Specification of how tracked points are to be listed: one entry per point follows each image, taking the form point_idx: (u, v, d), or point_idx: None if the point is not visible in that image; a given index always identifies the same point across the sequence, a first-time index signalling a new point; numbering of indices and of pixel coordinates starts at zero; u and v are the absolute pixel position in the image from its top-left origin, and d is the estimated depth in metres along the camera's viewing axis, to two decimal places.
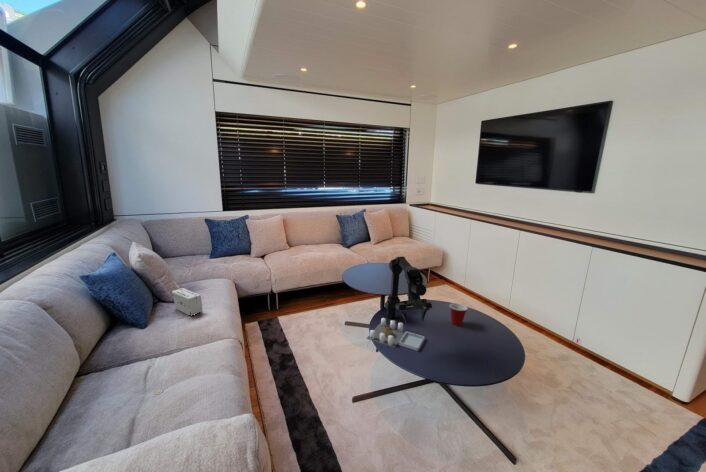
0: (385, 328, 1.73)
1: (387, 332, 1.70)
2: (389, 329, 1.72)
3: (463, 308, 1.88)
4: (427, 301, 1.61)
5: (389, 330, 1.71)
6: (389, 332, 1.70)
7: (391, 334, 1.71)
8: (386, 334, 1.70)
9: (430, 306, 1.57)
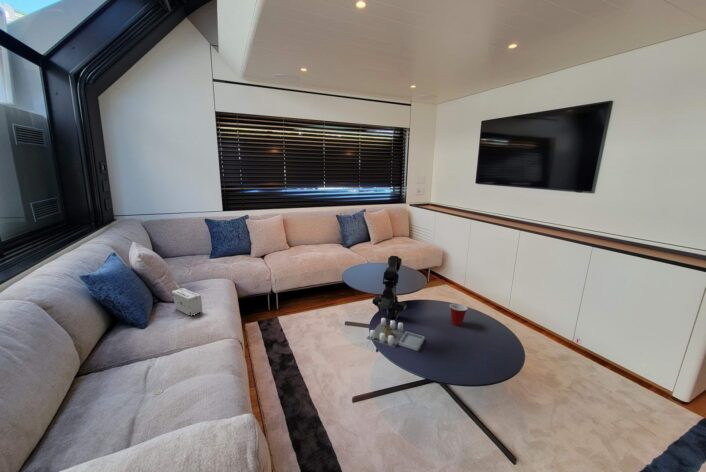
0: (385, 328, 1.73)
1: (387, 332, 1.70)
2: (389, 329, 1.72)
3: (463, 308, 1.88)
4: (404, 303, 1.65)
5: (389, 330, 1.71)
6: (389, 332, 1.70)
7: (391, 334, 1.71)
8: (386, 334, 1.70)
9: (401, 309, 1.62)
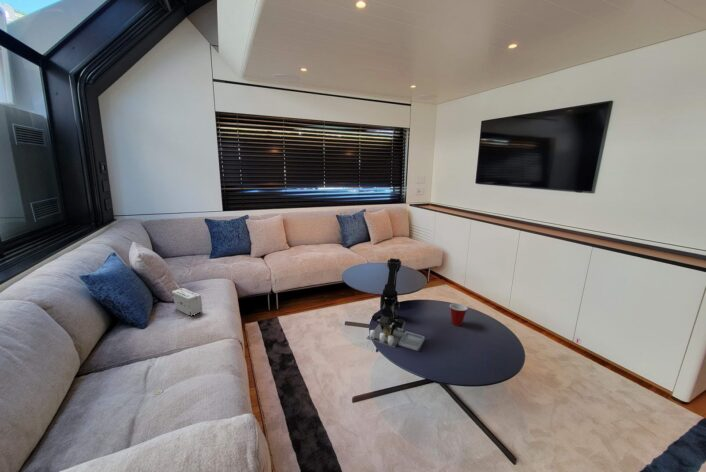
0: (385, 328, 1.73)
1: (387, 332, 1.70)
2: (389, 329, 1.72)
3: (463, 308, 1.88)
4: (402, 320, 1.67)
5: (389, 330, 1.71)
6: (389, 332, 1.70)
7: None
8: (386, 334, 1.70)
9: (399, 326, 1.65)
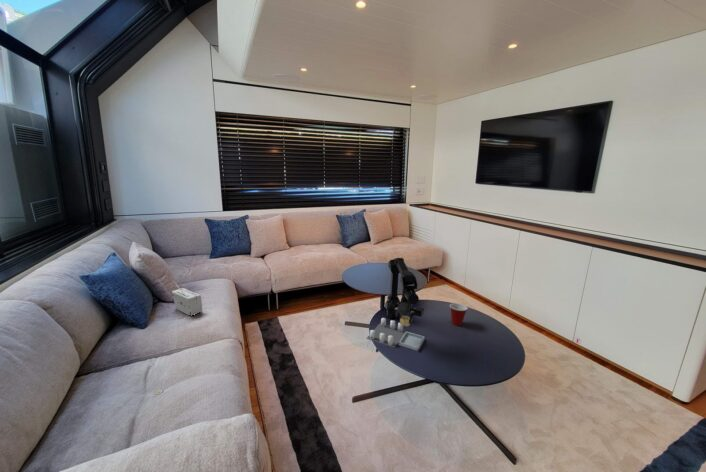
0: (403, 317, 1.66)
1: (405, 321, 1.63)
2: (407, 318, 1.65)
3: (463, 308, 1.88)
4: (421, 308, 1.60)
5: (407, 319, 1.63)
6: (407, 321, 1.63)
7: None
8: (404, 323, 1.63)
9: (418, 314, 1.57)
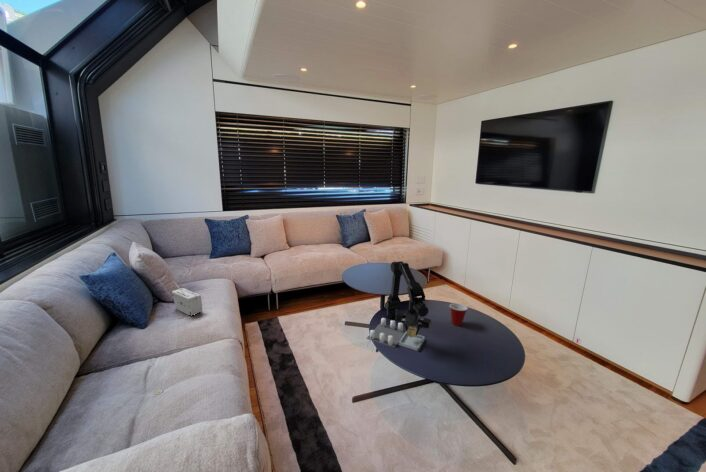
0: (409, 328, 1.65)
1: (412, 333, 1.62)
2: (414, 329, 1.65)
3: (463, 308, 1.88)
4: (429, 320, 1.60)
5: (414, 330, 1.63)
6: (414, 332, 1.62)
7: None
8: (411, 334, 1.63)
9: (426, 326, 1.57)
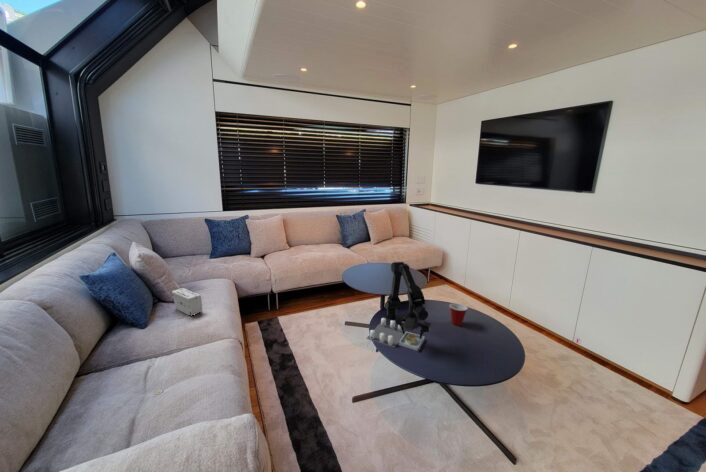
0: (409, 335, 1.66)
1: (412, 340, 1.63)
2: (413, 336, 1.66)
3: (463, 308, 1.88)
4: (428, 323, 1.60)
5: (413, 337, 1.64)
6: (414, 339, 1.63)
7: (415, 341, 1.65)
8: (410, 341, 1.64)
9: (426, 330, 1.57)
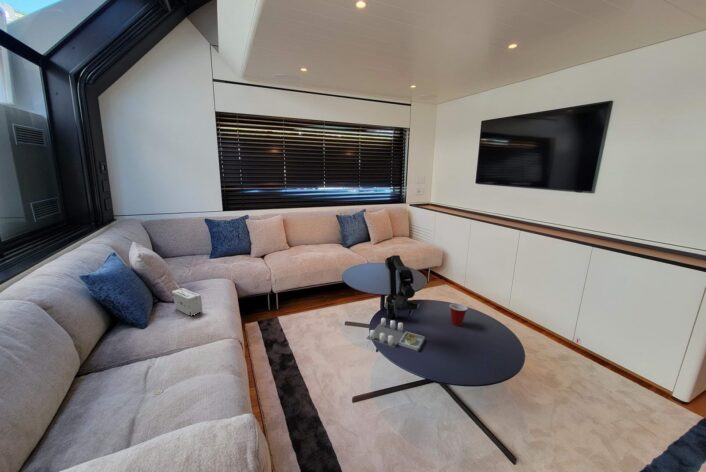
0: (409, 335, 1.66)
1: (412, 340, 1.63)
2: (413, 336, 1.66)
3: (463, 308, 1.88)
4: (417, 301, 1.68)
5: (413, 337, 1.64)
6: (414, 339, 1.63)
7: (415, 341, 1.65)
8: (410, 341, 1.64)
9: (414, 307, 1.66)
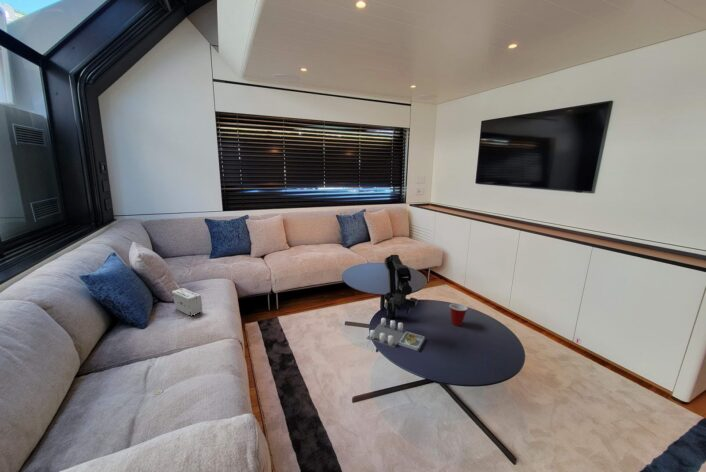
0: (409, 335, 1.66)
1: (412, 340, 1.63)
2: (413, 336, 1.66)
3: (463, 308, 1.88)
4: (415, 299, 1.70)
5: (413, 337, 1.64)
6: (414, 339, 1.63)
7: (415, 341, 1.65)
8: (410, 341, 1.64)
9: (412, 304, 1.67)
